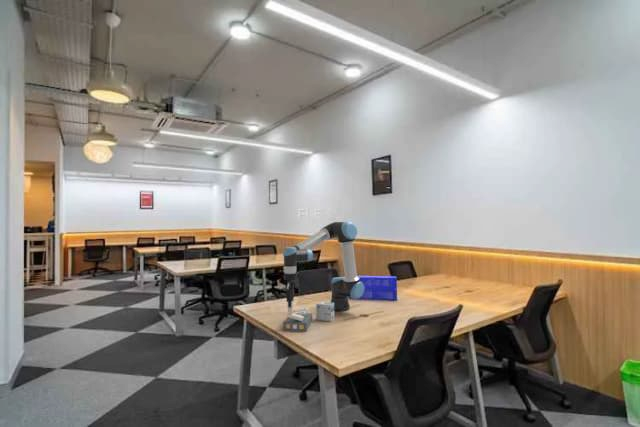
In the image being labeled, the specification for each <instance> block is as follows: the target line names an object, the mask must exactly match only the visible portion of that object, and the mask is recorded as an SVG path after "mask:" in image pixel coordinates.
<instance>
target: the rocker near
mask: <svg viewBox="0 0 640 427" xmlns="http://www.w3.org/2000/svg"><path fill="white" fill-rule="evenodd" d="M287 317H289V318H293V319H296V320H299V321H303V319H304V316H301V315H298V314H294V313H293V312H292V313H288V315H287Z"/></svg>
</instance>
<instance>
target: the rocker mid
mask: <svg viewBox="0 0 640 427" xmlns="http://www.w3.org/2000/svg"><path fill="white" fill-rule="evenodd" d="M292 313H294V314H298V315H305V314H306V313H307V312H306V310H303V311H298V312H292Z"/></svg>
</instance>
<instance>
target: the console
mask: <svg viewBox="0 0 640 427" xmlns="http://www.w3.org/2000/svg"><path fill="white" fill-rule="evenodd" d="M301 316H304V319H303V321H299V320H296V319H293V318H289V317H288V316H287V317H286V318H285V319H284V321H283V323H282V324H283V326H282V327H283V330H282V331H285V332H286V331H287V332H288V331H290V332H305V333H306V332H307V331H308V330H309V328H310V326H311V324H312V322H313V313H311V312H309V313H307V312H306V314H305V315H301Z"/></svg>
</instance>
